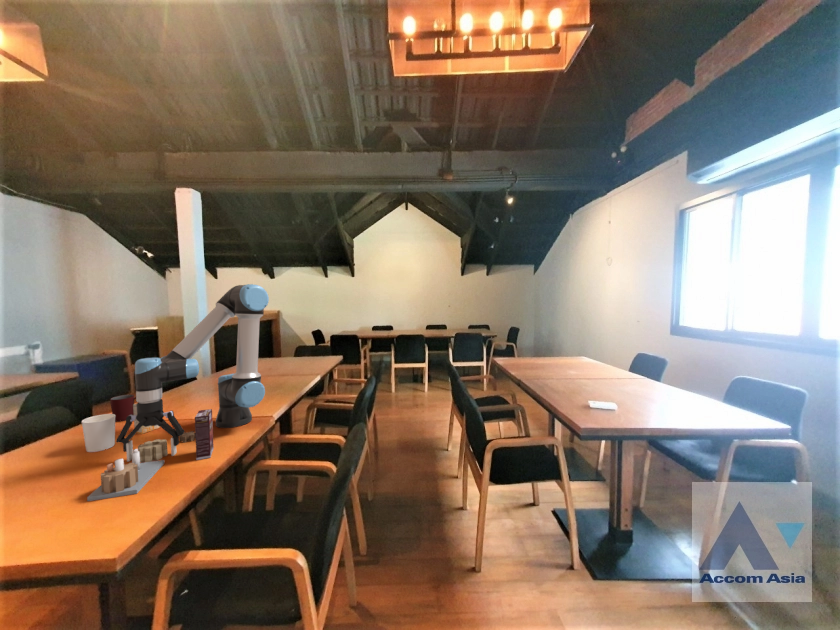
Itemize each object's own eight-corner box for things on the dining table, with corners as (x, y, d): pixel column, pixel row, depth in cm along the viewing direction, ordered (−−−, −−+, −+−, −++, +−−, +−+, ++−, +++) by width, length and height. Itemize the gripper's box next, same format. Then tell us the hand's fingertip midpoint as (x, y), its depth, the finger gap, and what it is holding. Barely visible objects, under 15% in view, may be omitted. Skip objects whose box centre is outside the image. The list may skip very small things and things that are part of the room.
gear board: (164, 463, 122) (163, 437, 121) (137, 493, 103) (135, 463, 102) (123, 468, 118) (122, 442, 118) (87, 501, 99) (85, 470, 98)
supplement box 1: (141, 434, 148) (139, 405, 147) (134, 433, 150) (132, 404, 149) (161, 427, 156) (159, 399, 155) (154, 426, 157) (152, 398, 157)
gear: (196, 435, 146) (196, 430, 146) (196, 440, 141) (196, 434, 141) (180, 438, 143) (179, 433, 143) (179, 443, 138) (178, 437, 138)
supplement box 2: (211, 457, 125) (209, 415, 124) (195, 460, 123) (193, 417, 122) (214, 448, 133) (212, 408, 132) (199, 451, 131) (197, 410, 130)
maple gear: (171, 450, 132) (170, 437, 131) (161, 460, 124) (161, 446, 123) (145, 453, 129) (144, 441, 129) (134, 464, 121) (133, 450, 121)
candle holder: (96, 454, 130) (94, 423, 129) (76, 452, 132) (74, 421, 131) (123, 443, 139) (121, 414, 139) (104, 441, 141) (102, 413, 141)
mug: (145, 414, 175) (144, 393, 174) (139, 419, 167) (137, 397, 166) (116, 417, 170) (115, 395, 170) (108, 423, 162) (106, 400, 162)
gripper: (192, 394, 133) (194, 447, 134) (113, 400, 125) (116, 457, 126) (185, 399, 125) (187, 456, 126) (101, 407, 118) (105, 466, 119)
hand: (152, 457), depth 126 cm, fingers open, 13 cm apart
